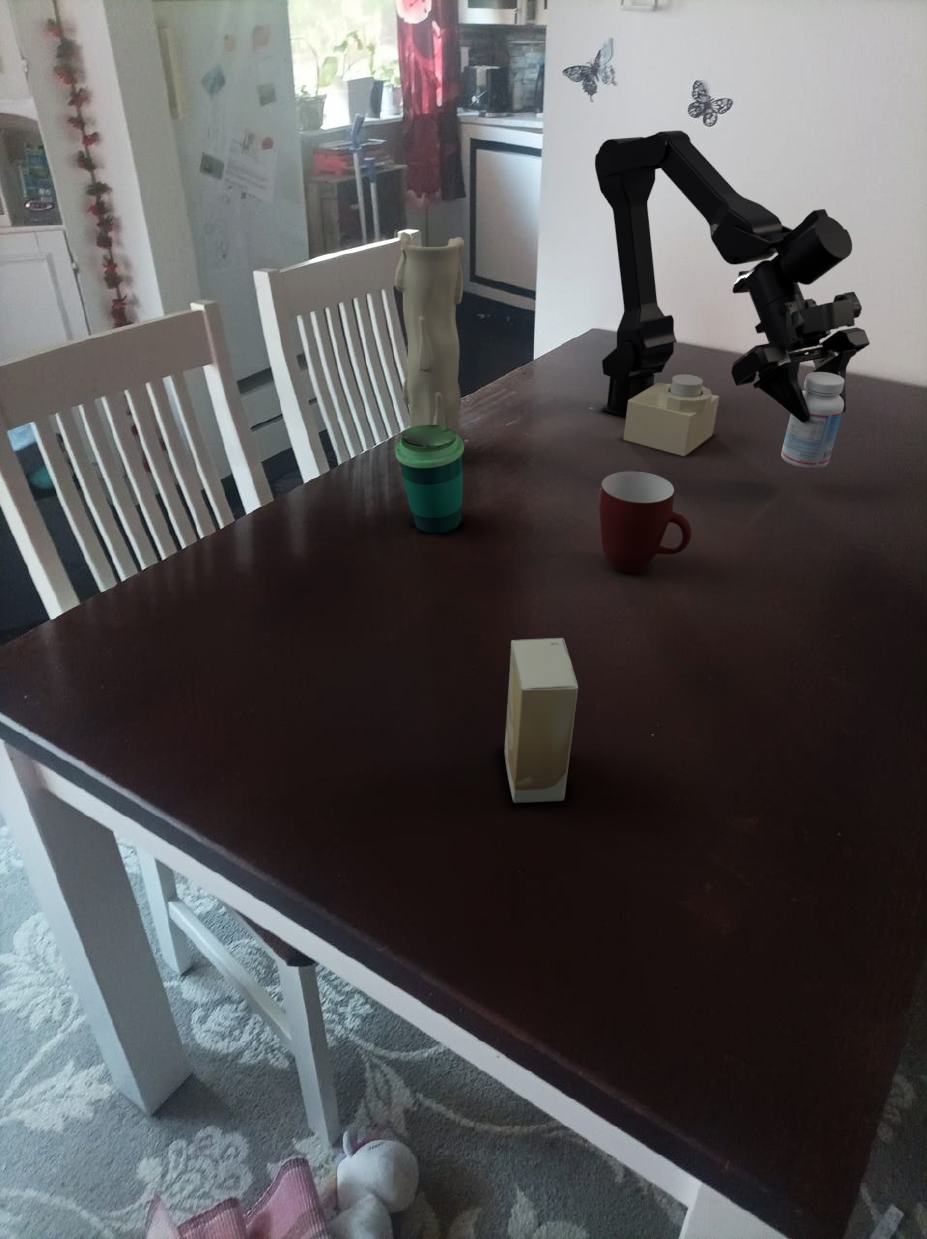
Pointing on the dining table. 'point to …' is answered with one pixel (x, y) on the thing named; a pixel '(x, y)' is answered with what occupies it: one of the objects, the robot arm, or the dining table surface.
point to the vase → (431, 330)
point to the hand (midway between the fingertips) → (824, 417)
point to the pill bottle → (815, 422)
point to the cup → (432, 476)
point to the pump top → (686, 386)
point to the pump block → (670, 419)
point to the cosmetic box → (539, 719)
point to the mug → (637, 519)
